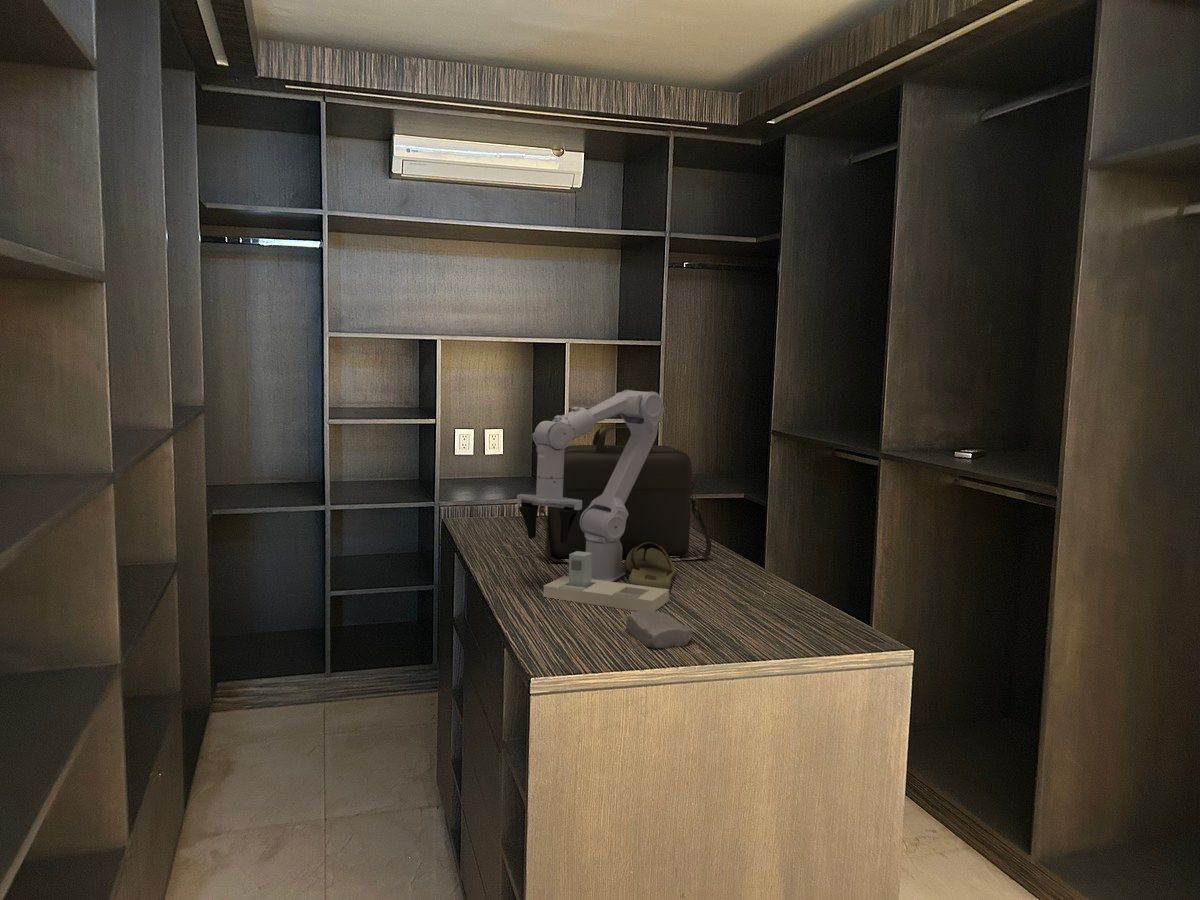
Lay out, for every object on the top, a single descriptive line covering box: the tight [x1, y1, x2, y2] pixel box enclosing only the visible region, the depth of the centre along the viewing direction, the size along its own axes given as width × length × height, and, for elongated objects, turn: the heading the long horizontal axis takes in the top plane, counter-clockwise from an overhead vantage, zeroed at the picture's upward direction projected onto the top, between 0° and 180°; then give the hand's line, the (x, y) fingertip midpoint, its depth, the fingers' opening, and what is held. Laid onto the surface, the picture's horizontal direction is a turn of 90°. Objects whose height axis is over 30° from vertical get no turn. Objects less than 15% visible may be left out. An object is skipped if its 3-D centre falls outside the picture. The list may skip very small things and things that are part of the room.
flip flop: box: [624, 542, 676, 592], centre depth 210 cm, size 29×12×8 cm, turn 175°
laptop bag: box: [538, 424, 712, 563], centre depth 232 cm, size 43×13×33 cm, turn 102°
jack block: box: [543, 575, 670, 612], centre depth 193 cm, size 10×24×3 cm, turn 67°
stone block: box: [625, 610, 693, 650], centre depth 168 cm, size 12×5×10 cm
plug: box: [568, 551, 592, 588], centre depth 195 cm, size 4×4×9 cm
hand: (547, 539), depth 201 cm, fingers open, 7 cm apart
